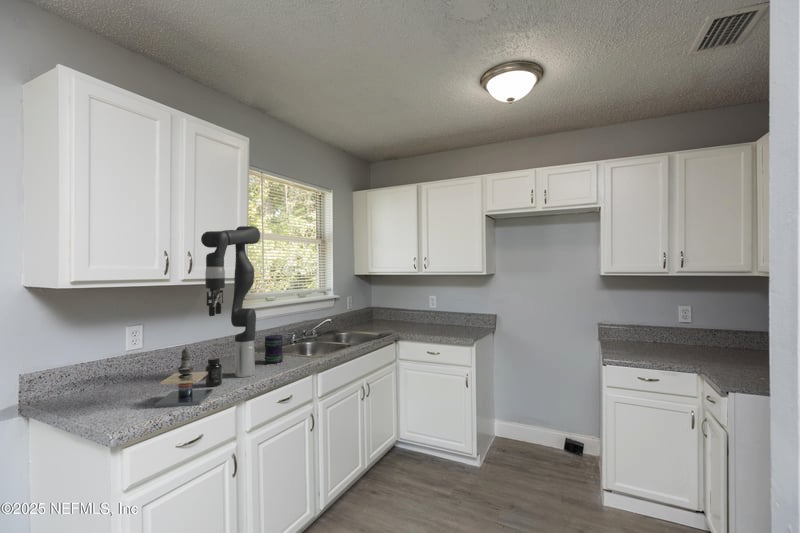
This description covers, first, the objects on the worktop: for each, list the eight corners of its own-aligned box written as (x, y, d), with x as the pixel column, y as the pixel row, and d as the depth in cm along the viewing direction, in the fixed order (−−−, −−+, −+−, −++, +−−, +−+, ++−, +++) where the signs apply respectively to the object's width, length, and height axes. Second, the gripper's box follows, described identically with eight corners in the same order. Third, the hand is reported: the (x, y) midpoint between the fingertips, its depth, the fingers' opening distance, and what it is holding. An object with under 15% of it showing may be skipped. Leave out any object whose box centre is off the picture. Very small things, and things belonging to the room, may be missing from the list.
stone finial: (196, 374, 158) (196, 345, 158) (189, 378, 152) (189, 348, 152) (182, 374, 157) (182, 345, 158) (174, 378, 152) (174, 348, 152)
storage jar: (263, 361, 218) (263, 335, 218) (281, 360, 222) (281, 334, 222) (265, 365, 209) (265, 338, 209) (284, 363, 213) (284, 337, 213)
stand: (172, 394, 161) (172, 372, 161) (212, 391, 163) (212, 370, 164) (154, 407, 145) (154, 383, 145) (199, 404, 148) (199, 381, 148)
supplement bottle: (225, 382, 177) (224, 357, 177) (216, 387, 170) (216, 360, 170) (211, 382, 177) (211, 356, 178) (202, 387, 171) (202, 360, 171)
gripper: (219, 277, 158) (219, 316, 158) (229, 277, 172) (229, 312, 172) (199, 277, 157) (199, 317, 156) (211, 277, 171) (211, 313, 170)
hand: (215, 314), depth 164 cm, fingers open, 8 cm apart
